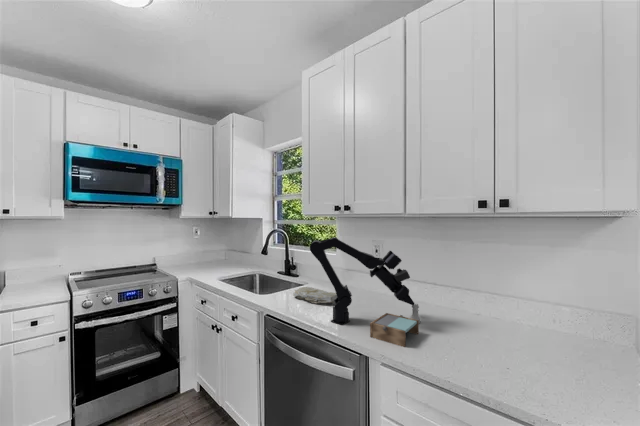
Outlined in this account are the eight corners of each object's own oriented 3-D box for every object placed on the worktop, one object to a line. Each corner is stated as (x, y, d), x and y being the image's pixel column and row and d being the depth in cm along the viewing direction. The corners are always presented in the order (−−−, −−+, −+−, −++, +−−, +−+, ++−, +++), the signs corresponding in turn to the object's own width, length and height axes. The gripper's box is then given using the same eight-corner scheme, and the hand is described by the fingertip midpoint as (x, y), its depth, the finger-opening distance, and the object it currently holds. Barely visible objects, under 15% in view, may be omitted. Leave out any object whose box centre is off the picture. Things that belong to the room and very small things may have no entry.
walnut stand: (369, 337, 114) (369, 322, 114) (387, 325, 126) (387, 311, 126) (403, 347, 105) (403, 331, 105) (419, 333, 117) (419, 319, 118)
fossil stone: (342, 303, 159) (342, 293, 159) (323, 309, 148) (323, 298, 148) (307, 293, 179) (307, 284, 179) (289, 298, 168) (289, 288, 168)
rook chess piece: (422, 322, 130) (422, 304, 130) (418, 325, 126) (418, 306, 126) (412, 319, 133) (412, 302, 133) (408, 322, 129) (408, 304, 129)
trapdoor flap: (374, 327, 114) (374, 322, 114) (387, 318, 124) (387, 314, 124) (405, 335, 107) (405, 330, 107) (416, 325, 116) (416, 321, 116)
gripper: (403, 267, 120) (430, 294, 120) (393, 260, 139) (417, 283, 139) (385, 286, 121) (412, 313, 120) (377, 277, 139) (400, 299, 139)
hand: (410, 301), depth 130 cm, fingers open, 9 cm apart
